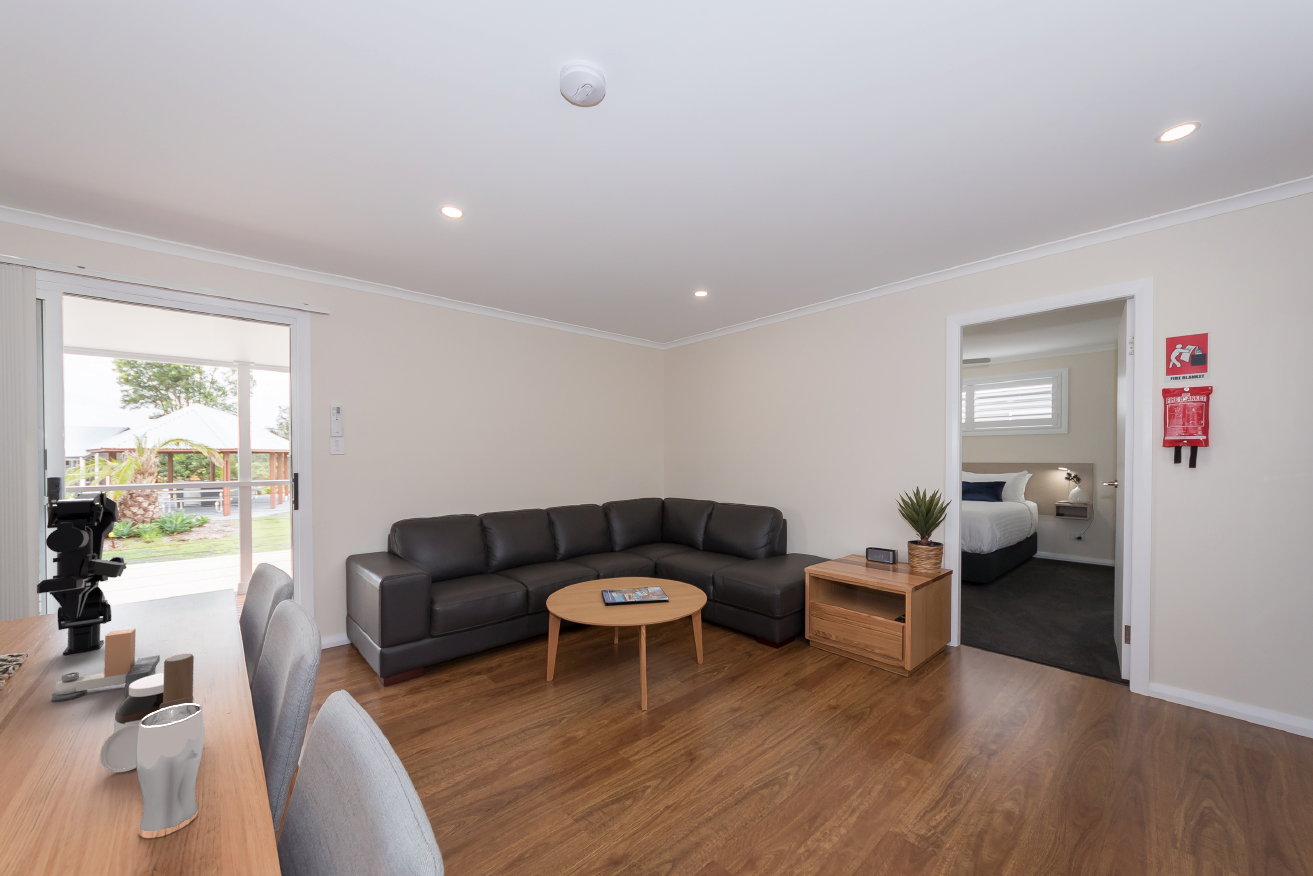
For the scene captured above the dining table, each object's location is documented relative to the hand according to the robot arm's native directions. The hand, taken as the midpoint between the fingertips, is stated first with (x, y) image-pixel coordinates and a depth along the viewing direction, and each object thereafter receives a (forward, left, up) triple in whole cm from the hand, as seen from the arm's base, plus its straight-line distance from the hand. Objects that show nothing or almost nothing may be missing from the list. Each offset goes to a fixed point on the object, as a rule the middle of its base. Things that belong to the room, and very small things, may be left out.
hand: (75, 617), depth 124 cm
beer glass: (+84, +21, -12) cm, 88 cm away
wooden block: (+71, +21, -12) cm, 75 cm away
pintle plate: (+20, +2, -12) cm, 23 cm away
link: (+21, +8, -11) cm, 25 cm away
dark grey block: (+25, +14, -12) cm, 31 cm away
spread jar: (+59, +17, -12) cm, 63 cm away
